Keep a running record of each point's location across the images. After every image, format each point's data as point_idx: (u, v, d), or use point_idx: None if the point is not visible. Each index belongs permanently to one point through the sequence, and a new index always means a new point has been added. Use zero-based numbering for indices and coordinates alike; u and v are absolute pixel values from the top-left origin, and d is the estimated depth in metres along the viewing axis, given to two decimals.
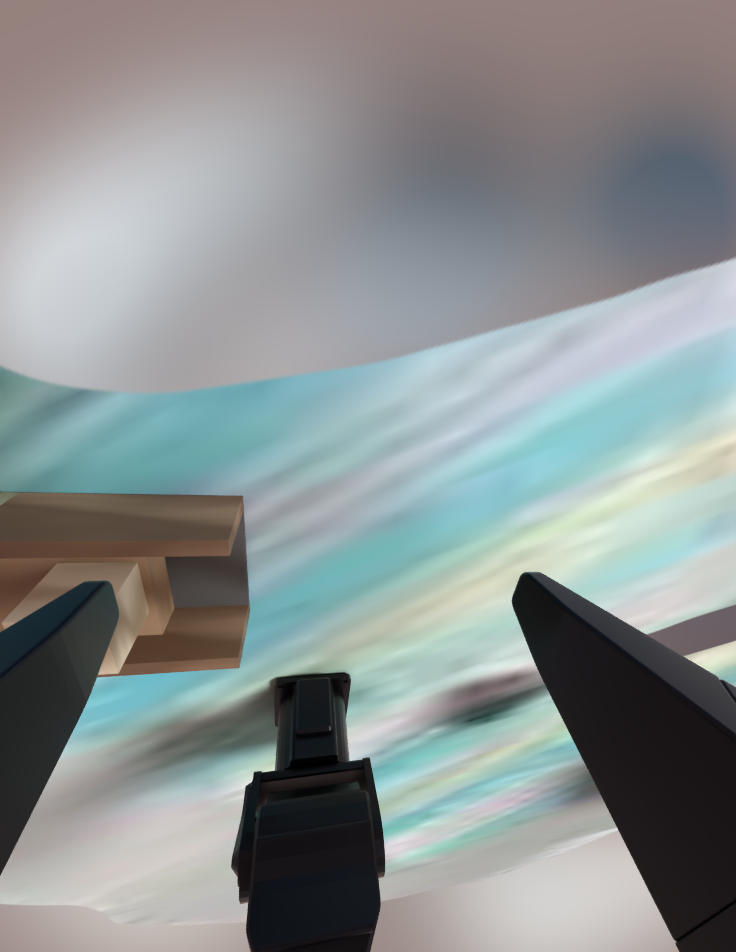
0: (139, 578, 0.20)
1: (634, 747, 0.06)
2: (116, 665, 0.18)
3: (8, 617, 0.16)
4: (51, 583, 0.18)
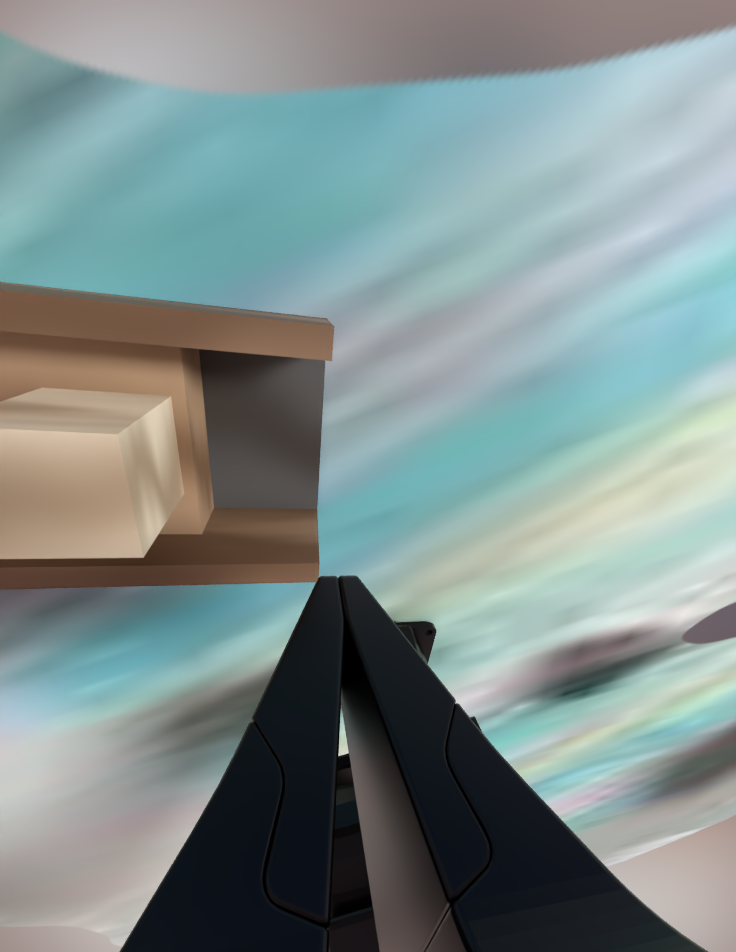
0: (173, 426, 0.13)
1: (370, 781, 0.05)
2: (140, 542, 0.11)
3: None
4: (30, 400, 0.11)
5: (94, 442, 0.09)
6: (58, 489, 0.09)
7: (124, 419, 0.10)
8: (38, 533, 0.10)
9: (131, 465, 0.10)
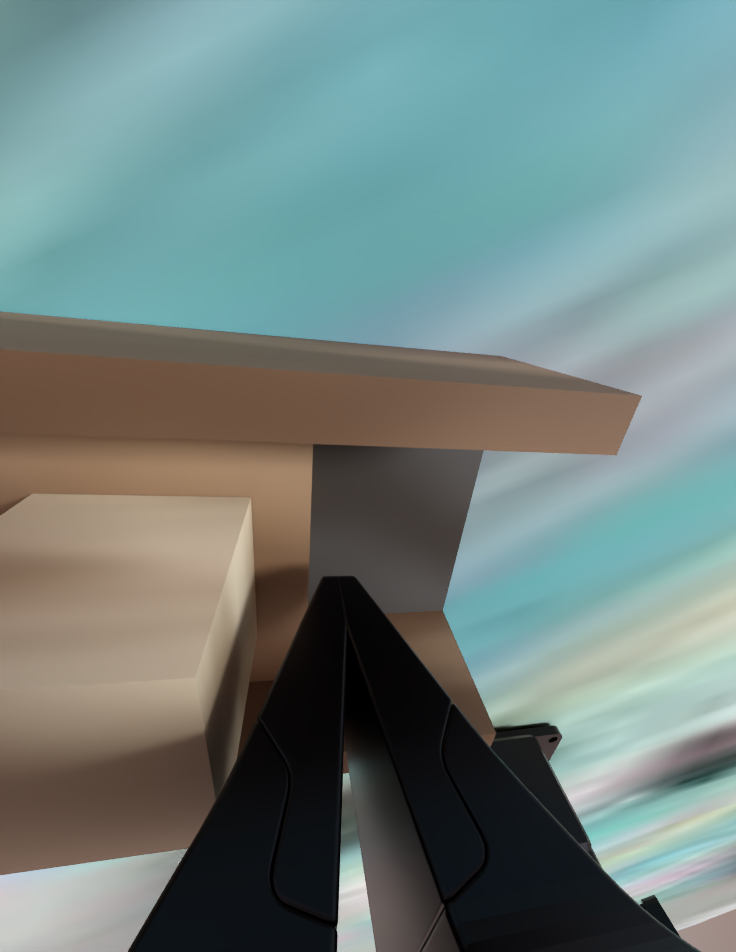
0: (251, 543, 0.08)
1: (367, 781, 0.05)
2: None
3: None
4: (4, 544, 0.05)
5: (141, 696, 0.04)
6: (57, 777, 0.04)
7: (196, 596, 0.05)
8: (17, 841, 0.05)
9: (212, 702, 0.05)
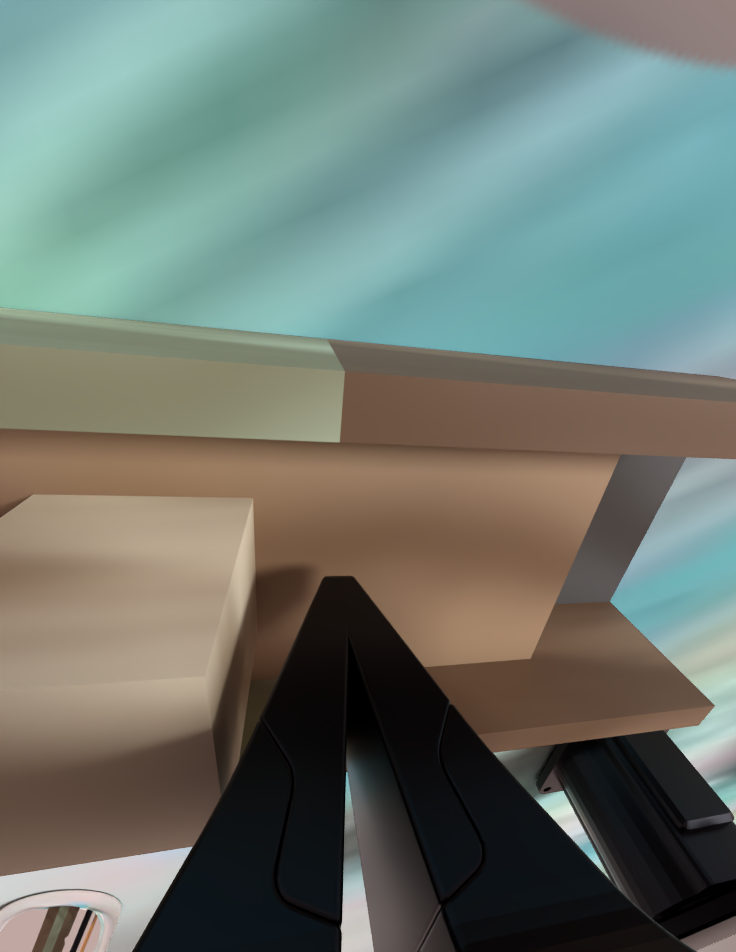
0: (253, 544, 0.08)
1: (365, 782, 0.05)
2: None
3: None
4: (7, 544, 0.05)
5: (151, 694, 0.04)
6: (65, 775, 0.04)
7: (202, 596, 0.05)
8: (22, 841, 0.05)
9: (219, 701, 0.05)
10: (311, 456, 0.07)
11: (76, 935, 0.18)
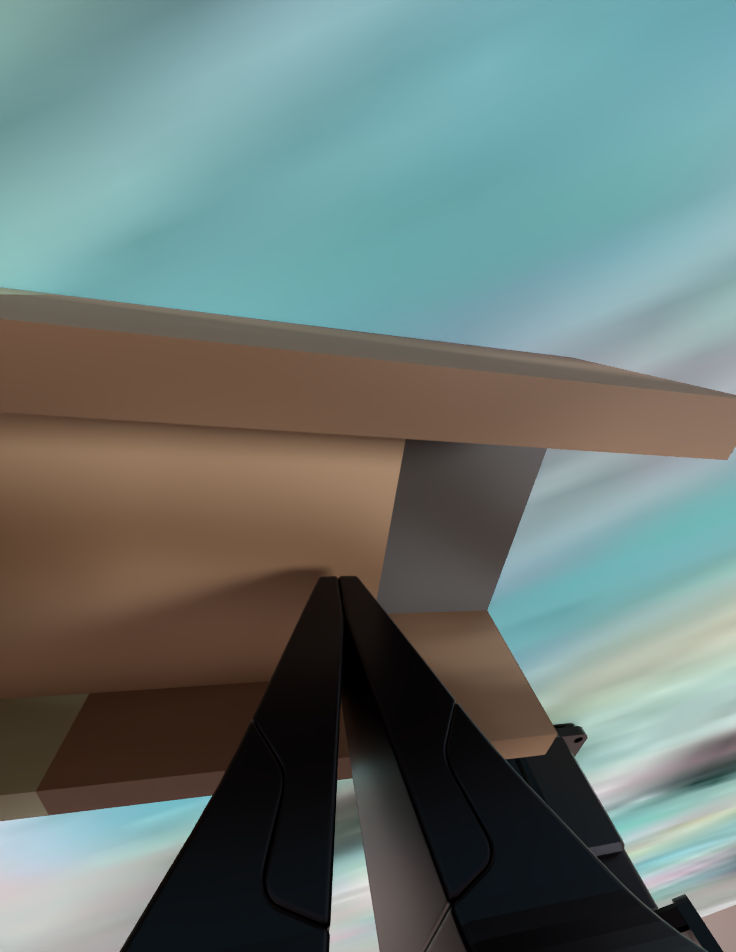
0: None
1: (370, 781, 0.05)
2: None
3: None
4: None
5: None
6: None
7: None
8: None
9: None
10: None
11: None
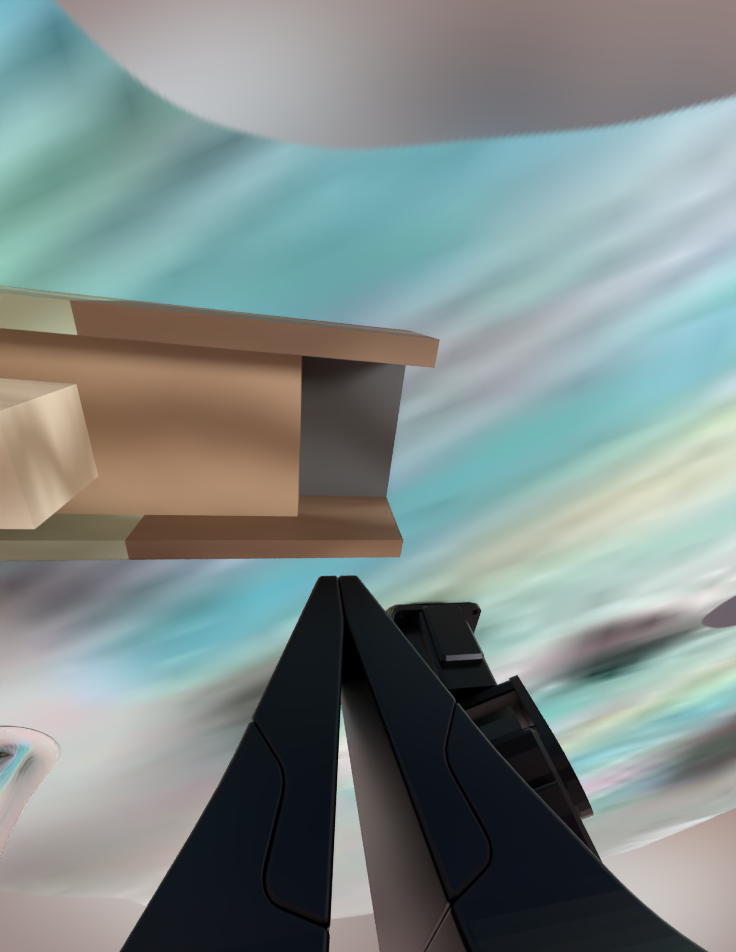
0: (80, 412, 0.14)
1: (370, 781, 0.05)
2: (30, 514, 0.12)
3: None
4: None
5: None
6: None
7: (12, 401, 0.11)
8: None
9: (15, 443, 0.11)
10: (104, 359, 0.13)
11: (20, 755, 0.24)
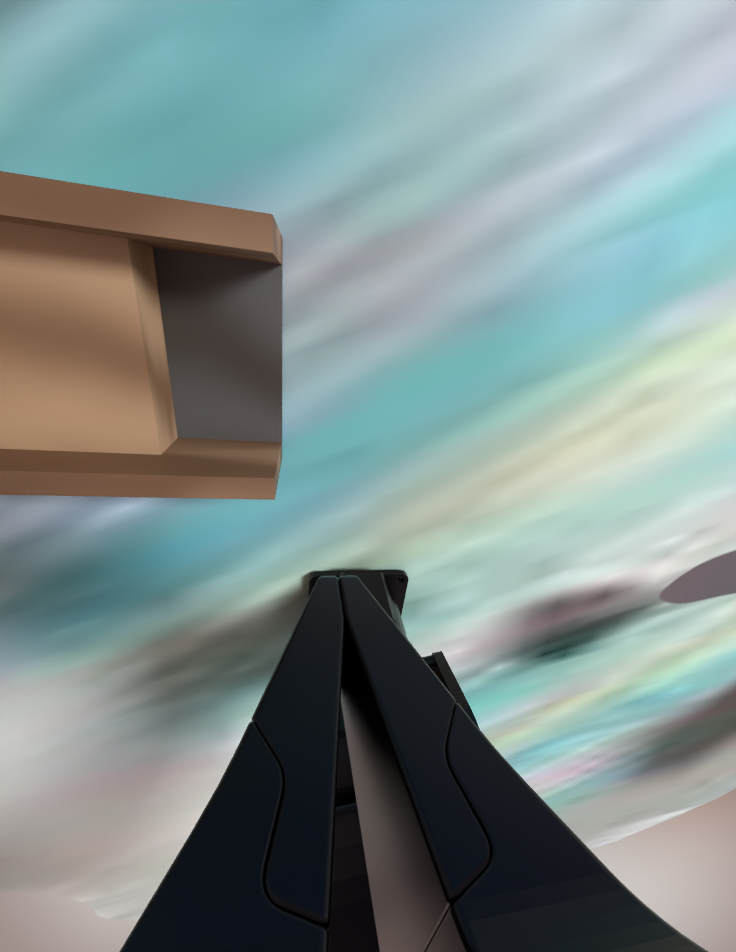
0: None
1: (370, 781, 0.05)
2: None
3: None
4: None
5: None
6: None
7: None
8: None
9: None
10: None
11: None
